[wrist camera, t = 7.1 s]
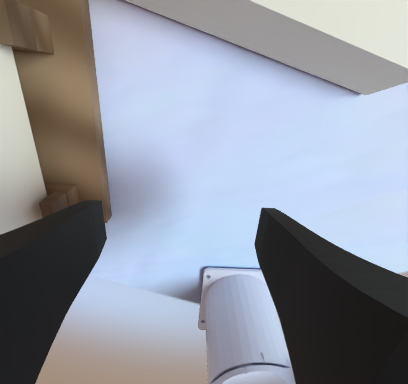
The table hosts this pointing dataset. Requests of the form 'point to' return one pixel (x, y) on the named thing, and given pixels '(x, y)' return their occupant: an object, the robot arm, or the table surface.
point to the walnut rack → (59, 97)
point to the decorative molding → (309, 34)
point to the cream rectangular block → (17, 153)
